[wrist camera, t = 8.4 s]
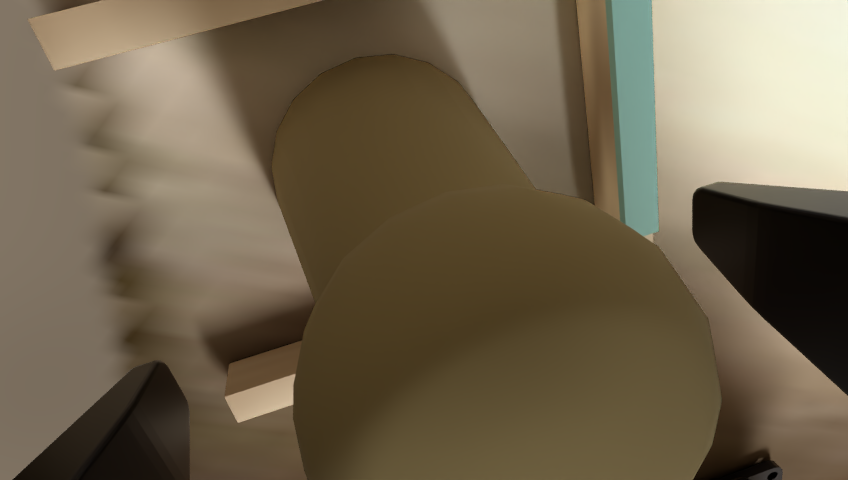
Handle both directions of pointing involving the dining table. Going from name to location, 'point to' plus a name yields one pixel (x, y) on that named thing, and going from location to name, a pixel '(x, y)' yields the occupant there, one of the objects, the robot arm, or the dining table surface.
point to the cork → (474, 302)
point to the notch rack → (231, 3)
